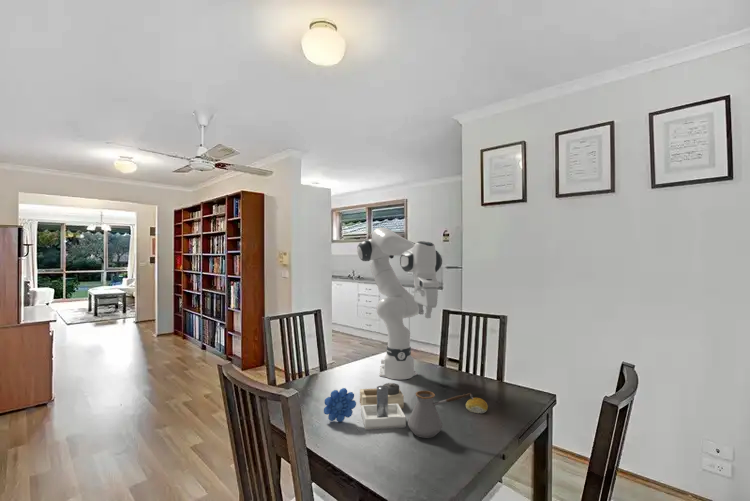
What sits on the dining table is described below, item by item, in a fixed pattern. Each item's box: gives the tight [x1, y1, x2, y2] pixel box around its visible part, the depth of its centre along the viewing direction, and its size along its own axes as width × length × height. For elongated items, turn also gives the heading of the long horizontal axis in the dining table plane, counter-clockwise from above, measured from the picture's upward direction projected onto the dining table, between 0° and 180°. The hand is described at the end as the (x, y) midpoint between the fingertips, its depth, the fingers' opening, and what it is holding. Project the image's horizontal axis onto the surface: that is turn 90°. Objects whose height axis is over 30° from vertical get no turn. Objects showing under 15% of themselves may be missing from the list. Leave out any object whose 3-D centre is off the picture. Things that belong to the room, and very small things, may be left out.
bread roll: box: [465, 397, 489, 414], centre depth 145 cm, size 8×9×4 cm
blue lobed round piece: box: [323, 387, 357, 423], centre depth 133 cm, size 12×7×12 cm, turn 86°
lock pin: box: [376, 385, 388, 418], centre depth 133 cm, size 4×4×11 cm
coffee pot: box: [407, 390, 474, 439], centre depth 123 cm, size 21×12×15 cm, turn 72°
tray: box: [360, 404, 407, 431], centre depth 133 cm, size 12×14×4 cm
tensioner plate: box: [359, 382, 405, 410], centre depth 147 cm, size 9×16×8 cm, turn 99°
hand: (424, 316), depth 149 cm, fingers open, 8 cm apart
